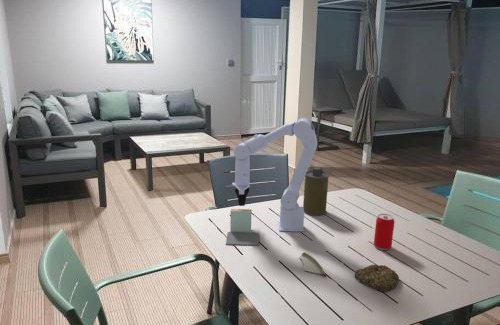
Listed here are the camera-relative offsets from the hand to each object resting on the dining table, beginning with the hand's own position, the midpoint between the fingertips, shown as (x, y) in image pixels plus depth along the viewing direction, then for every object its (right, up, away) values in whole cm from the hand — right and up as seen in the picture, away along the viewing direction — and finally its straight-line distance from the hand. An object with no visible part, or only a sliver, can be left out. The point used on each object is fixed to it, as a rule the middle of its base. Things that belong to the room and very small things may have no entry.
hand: (241, 205), depth 163 cm
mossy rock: (+43, -20, -38) cm, 60 cm away
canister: (+32, -4, +15) cm, 36 cm away
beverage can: (+52, -14, -17) cm, 56 cm away
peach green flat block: (0, -10, -7) cm, 12 cm away
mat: (+1, -11, -13) cm, 17 cm away
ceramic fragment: (+24, -17, -31) cm, 43 cm away
